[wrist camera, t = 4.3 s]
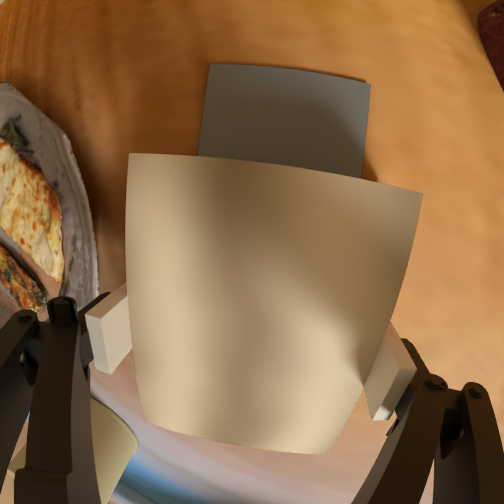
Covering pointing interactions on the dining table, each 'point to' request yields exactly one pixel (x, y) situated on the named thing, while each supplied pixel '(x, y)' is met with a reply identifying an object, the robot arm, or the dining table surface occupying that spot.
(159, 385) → the beige wavy block
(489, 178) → the dining table surface
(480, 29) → the vegetable
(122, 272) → the dining table surface
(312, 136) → the mat
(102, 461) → the can
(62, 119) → the dining table surface
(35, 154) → the food plate
